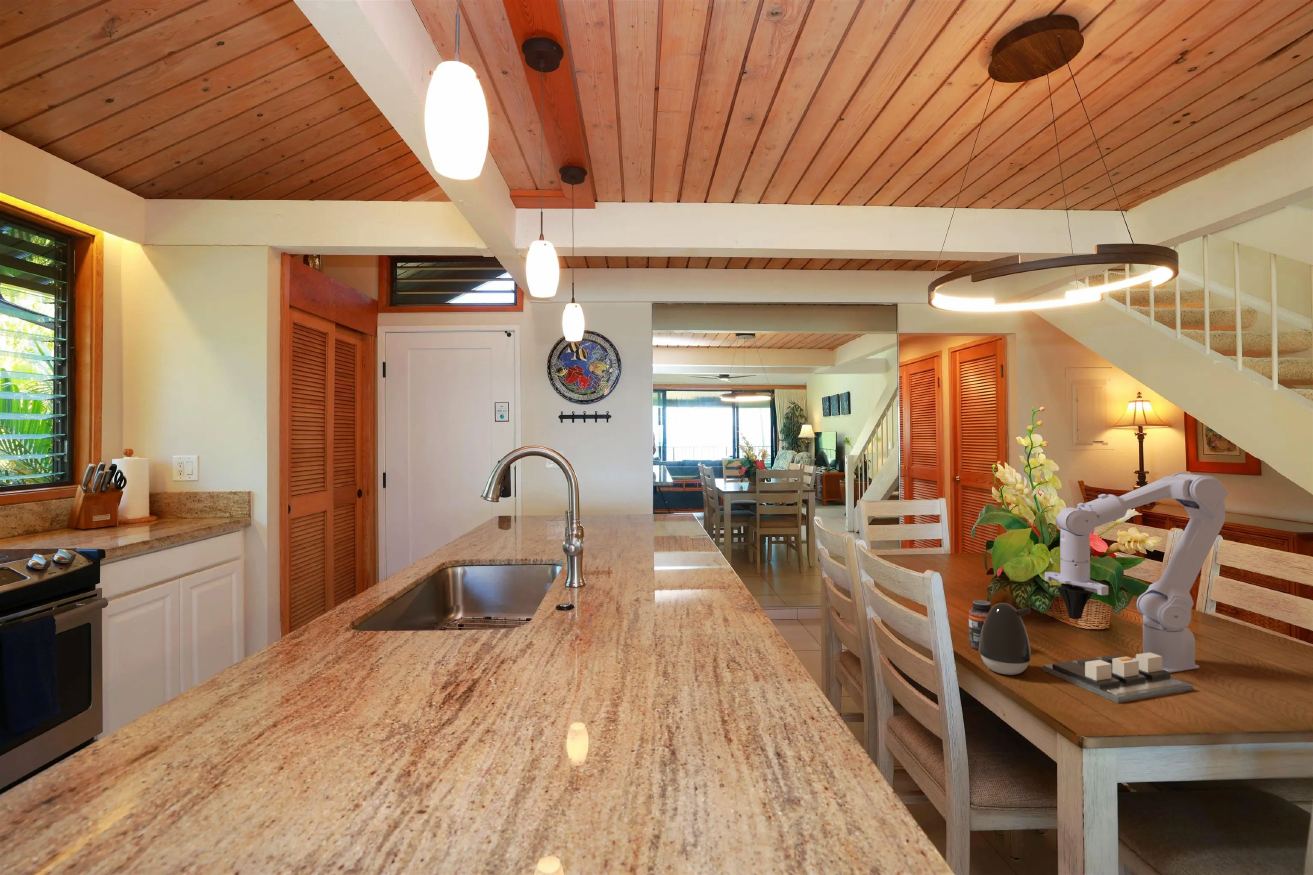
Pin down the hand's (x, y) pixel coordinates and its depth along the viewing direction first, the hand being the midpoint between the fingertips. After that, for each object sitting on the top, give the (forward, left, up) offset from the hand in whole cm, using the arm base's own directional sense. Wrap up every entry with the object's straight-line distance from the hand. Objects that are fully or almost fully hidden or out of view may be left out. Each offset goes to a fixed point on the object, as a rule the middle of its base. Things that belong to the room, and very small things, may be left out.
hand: (1075, 617), depth 143 cm
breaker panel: (+2, +11, -10) cm, 15 cm away
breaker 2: (-5, +13, -8) cm, 16 cm away
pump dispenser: (+20, 0, -10) cm, 22 cm away
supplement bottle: (+14, -13, -10) cm, 22 cm away
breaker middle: (+2, +13, -8) cm, 15 cm away
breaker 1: (+9, +13, -8) cm, 18 cm away
